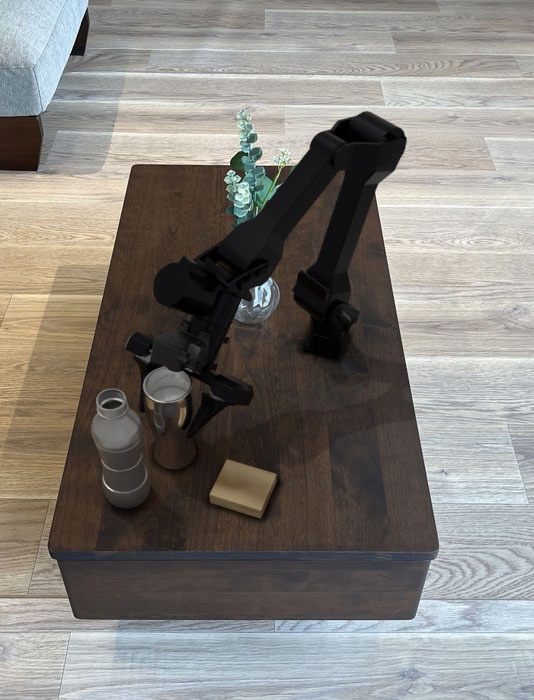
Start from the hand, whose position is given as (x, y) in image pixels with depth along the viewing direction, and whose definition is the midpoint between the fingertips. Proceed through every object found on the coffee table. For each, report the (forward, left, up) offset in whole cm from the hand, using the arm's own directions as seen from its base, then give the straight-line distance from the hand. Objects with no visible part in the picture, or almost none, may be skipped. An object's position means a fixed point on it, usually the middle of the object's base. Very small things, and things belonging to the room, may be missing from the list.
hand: (164, 424), depth 110 cm
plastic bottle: (+8, -3, -8) cm, 11 cm away
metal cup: (-1, 0, -8) cm, 8 cm away
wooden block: (+2, +12, -8) cm, 15 cm away
